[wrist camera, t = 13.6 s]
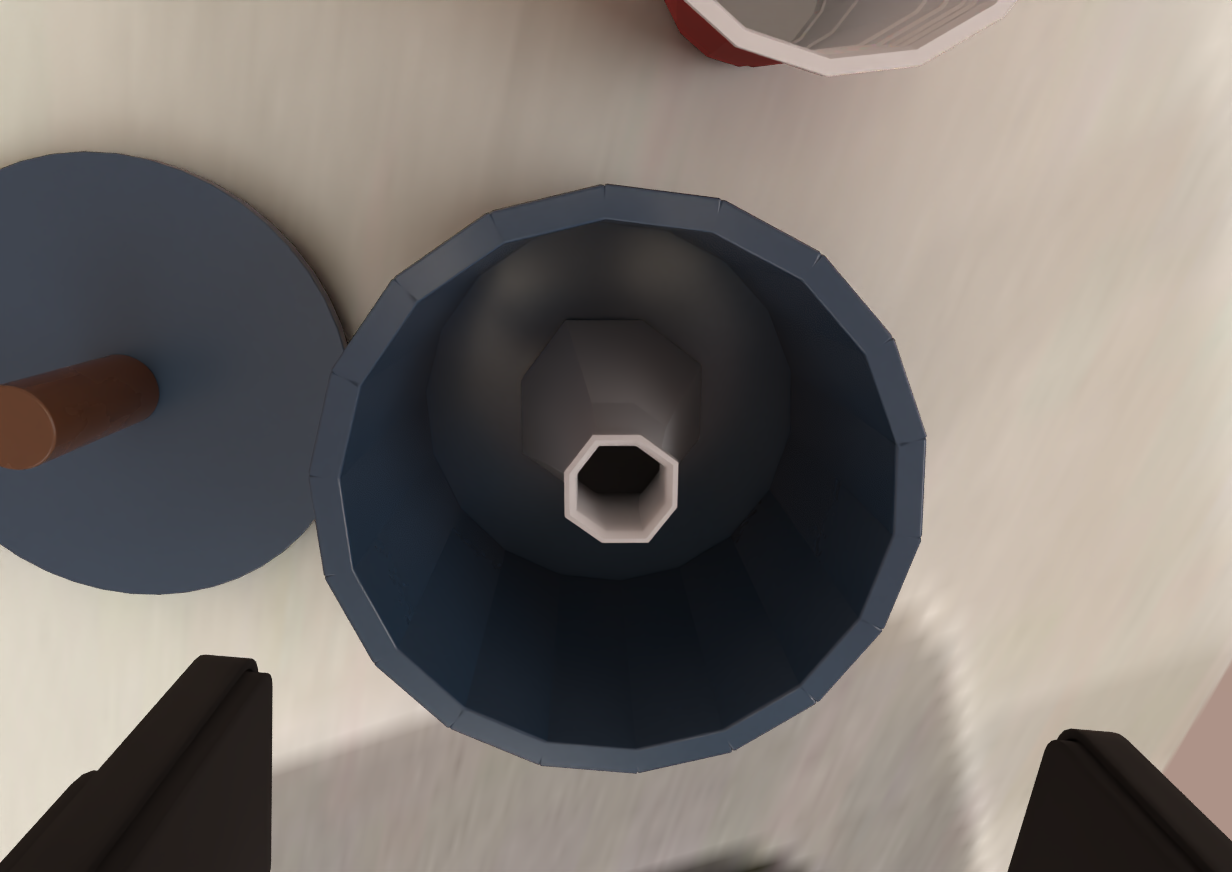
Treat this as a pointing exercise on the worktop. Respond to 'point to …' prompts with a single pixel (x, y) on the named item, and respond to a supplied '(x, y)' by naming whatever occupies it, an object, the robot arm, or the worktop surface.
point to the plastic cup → (832, 31)
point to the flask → (612, 423)
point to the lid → (153, 375)
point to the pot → (534, 498)
